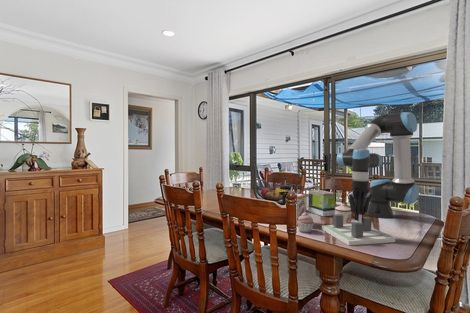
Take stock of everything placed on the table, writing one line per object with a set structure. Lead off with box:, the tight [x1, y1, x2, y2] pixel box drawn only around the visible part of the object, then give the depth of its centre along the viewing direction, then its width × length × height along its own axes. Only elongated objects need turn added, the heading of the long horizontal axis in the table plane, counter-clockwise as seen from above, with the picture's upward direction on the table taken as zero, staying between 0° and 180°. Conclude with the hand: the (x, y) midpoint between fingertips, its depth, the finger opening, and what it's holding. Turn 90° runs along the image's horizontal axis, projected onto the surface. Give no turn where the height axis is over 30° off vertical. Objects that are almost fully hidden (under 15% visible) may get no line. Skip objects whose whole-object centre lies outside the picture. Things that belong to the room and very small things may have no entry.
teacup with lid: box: [335, 203, 352, 224], centre depth 155 cm, size 12×9×12 cm
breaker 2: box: [351, 221, 363, 237], centre depth 126 cm, size 4×3×6 cm
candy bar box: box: [296, 193, 308, 220], centre depth 155 cm, size 11×5×16 cm, turn 135°
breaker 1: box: [332, 214, 343, 227], centre depth 141 cm, size 4×3×6 cm
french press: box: [278, 176, 293, 205], centre depth 188 cm, size 12×9×23 cm
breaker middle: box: [362, 216, 373, 231], centre depth 136 cm, size 4×3×6 cm
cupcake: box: [296, 211, 315, 234], centre depth 141 cm, size 9×9×10 cm
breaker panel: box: [321, 223, 396, 246], centre depth 135 cm, size 24×24×2 cm
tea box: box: [308, 189, 336, 217], centre depth 179 cm, size 15×10×15 cm, turn 23°
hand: (358, 226), depth 135 cm, fingers closed
